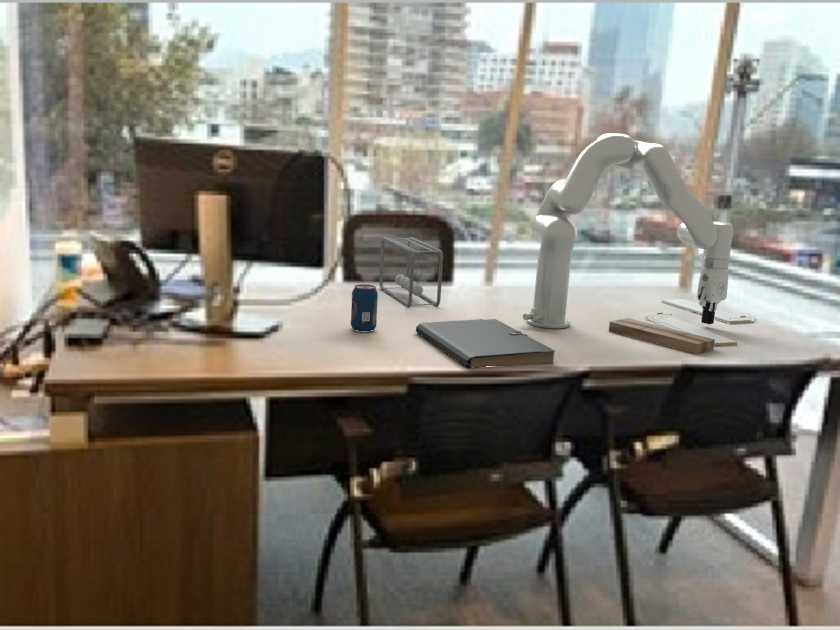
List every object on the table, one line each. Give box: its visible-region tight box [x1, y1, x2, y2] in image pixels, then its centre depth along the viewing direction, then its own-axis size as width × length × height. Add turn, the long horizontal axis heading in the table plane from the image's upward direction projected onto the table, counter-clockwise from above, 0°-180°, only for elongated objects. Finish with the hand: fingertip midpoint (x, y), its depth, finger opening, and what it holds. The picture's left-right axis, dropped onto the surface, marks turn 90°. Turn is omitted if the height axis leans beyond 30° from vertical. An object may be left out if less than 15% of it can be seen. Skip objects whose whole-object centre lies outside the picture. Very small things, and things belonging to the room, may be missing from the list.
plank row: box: [608, 317, 715, 355], centre depth 239 cm, size 9×28×3 cm, turn 43°
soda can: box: [350, 284, 379, 331], centre depth 230 cm, size 7×7×12 cm
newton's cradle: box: [378, 236, 444, 308], centre depth 274 cm, size 30×10×18 cm, turn 21°
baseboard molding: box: [661, 298, 758, 324], centre depth 280 cm, size 31×3×12 cm
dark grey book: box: [415, 318, 556, 368], centre depth 220 cm, size 33×4×24 cm
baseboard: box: [644, 312, 738, 347], centre depth 250 cm, size 30×3×10 cm
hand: (707, 323), depth 258 cm, fingers closed
